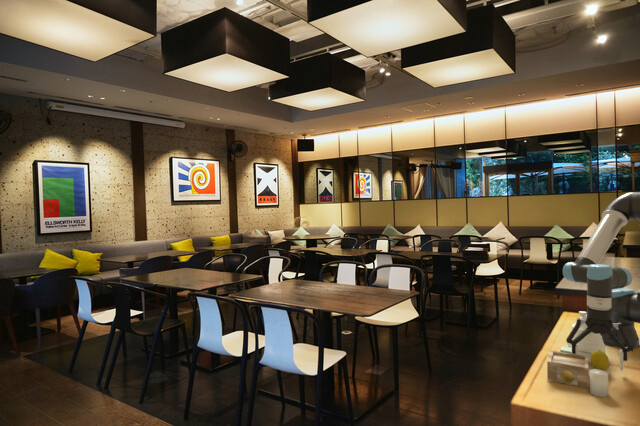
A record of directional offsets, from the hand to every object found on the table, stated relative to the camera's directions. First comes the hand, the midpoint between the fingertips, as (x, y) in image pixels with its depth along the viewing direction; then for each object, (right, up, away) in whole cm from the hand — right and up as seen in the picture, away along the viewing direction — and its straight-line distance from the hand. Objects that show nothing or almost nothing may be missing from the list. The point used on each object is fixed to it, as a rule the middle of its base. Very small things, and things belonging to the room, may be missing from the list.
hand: (598, 365), depth 154 cm
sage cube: (-5, -2, +10) cm, 11 cm away
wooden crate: (-13, -3, -4) cm, 14 cm away
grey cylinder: (-10, -3, -16) cm, 19 cm away
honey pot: (+5, -2, +15) cm, 16 cm away
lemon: (+1, -3, +1) cm, 3 cm away
